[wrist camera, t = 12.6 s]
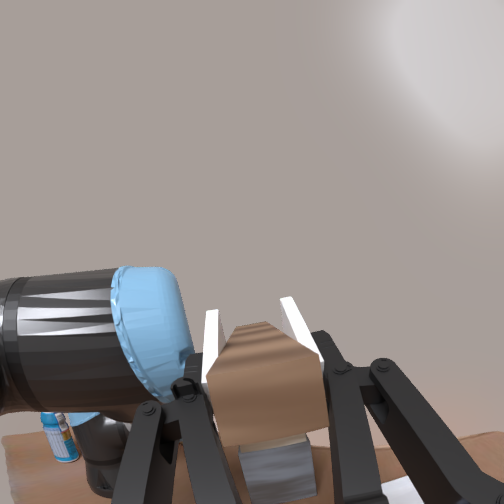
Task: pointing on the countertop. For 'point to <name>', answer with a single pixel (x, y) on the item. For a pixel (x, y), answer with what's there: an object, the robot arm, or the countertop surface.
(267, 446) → the tower
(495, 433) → the countertop surface
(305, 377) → the walnut bar
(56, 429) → the beverage bottle
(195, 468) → the robot arm
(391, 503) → the salad plate
